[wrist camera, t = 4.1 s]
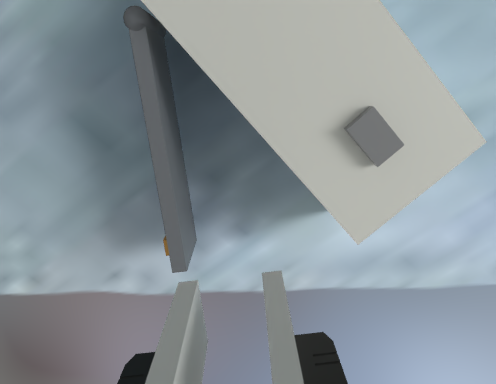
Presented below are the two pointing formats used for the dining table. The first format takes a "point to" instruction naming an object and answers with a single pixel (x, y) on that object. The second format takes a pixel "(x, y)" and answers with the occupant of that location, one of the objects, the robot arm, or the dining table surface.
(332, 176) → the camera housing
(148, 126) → the side door
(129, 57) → the dining table surface
